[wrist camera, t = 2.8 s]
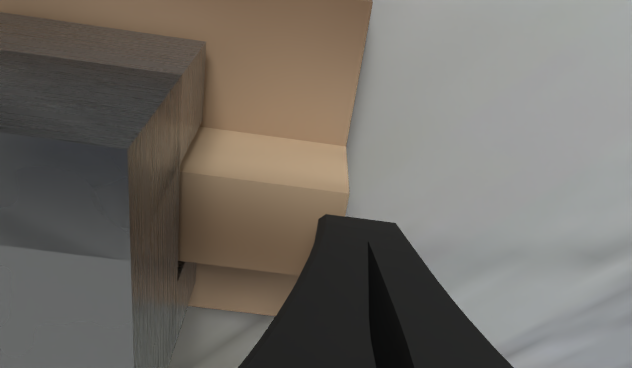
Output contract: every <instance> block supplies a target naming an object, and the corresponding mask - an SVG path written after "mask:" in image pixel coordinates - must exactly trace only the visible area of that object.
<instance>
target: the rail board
mask: <svg viewBox="0 0 632 368" xmlns="http://www.w3.org/2000/svg"><path fill="white" fill-rule="evenodd" d="M372 3H373V2H372V0H0V12H3V13H10V14H17V15H24V16H31V17H38V18H45V19H52V20H59V21H66V22H73V23H80V24H87V25H94V26H101V27H108V28H115V29H122V30H129V31H136V32H143V33H149V34H156V35H163V36H170V37H177V38H184V39H191V40H198V41H205V42H206V58H205V82H204V105H203V120H202V122H201V124H200V126H199V128H198V130H197V132H196V134H195V136H194V138H193V140H192V142H191V144H190V146H189V148H188V150H187V152H186V154H185V156H184V158H183V160H182V162H181V164H180V182H179V228H178V261H185V262H193V263H197V268H196V282H195V285H194V288H193V291H192V295H191V298H190V301H189V304H188V306H194V307H202V308H211V309H219V310H228V311H236V312H245V313H253V314H262V315H270V316H276V315H277V313H278V312H279V310H280V309H281V307H282V305H283V304H284V302H285V300H286V299H287V297H288V296H289V294H290V292H291V291H292V289H293V287H294V285H295V284H296V282H297V280H298V278H299V276H300V274H301V272H302V270H303V268H304V266H305V264H306V262H307V260H308V257H309V255H310V252H311V250H312V247H313V245H314V242H315V236H316V230H317V224H318V219H319V218H321V217H322V216H324V215H325V214H329V215H337V216H344V217H345V214H346V209H347V203H348V198H349V181H348V167H347V153H346V144H347V138H348V133H349V128H350V122H351V117H352V111H353V106H354V101H355V95H356V90H357V84H358V79H359V74H360V68H361V63H362V57H363V52H364V47H365V41H366V36H367V30H368V25H369V20H370V14H371V9H372Z"/></svg>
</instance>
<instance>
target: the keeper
mask: <svg viewBox="0 0 632 368" xmlns="http://www.w3.org/2000/svg"><path fill="white" fill-rule="evenodd" d="M205 58H206V42H205V41H198V40H191V39H184V38H177V37H170V36H163V35H156V34H149V33H143V32H136V31H129V30H122V29H115V28H108V27H101V26H94V25H87V24H80V23H73V22H66V21H59V20H52V19H45V18H38V17H31V16H24V15H17V14H10V13H3V12H0V368H168V366H169V363H170V359H171V356H172V353H173V350H174V347H175V344H176V341H177V338H178V335H179V332H180V329H181V325H182V322H183V319H184V316H185V313H186V310H187V307H188V304H189V301H190V298H191V295H192V291H193V288H194V285H195V282H196V268H197V263H193V262H185V261H178V228H179V182H180V164H181V162H182V160H183V158H184V156H185V154H186V152H187V150H188V148H189V146H190V144H191V142H192V140H193V138H194V136H195V134H196V132H197V130H198V128H199V126H200V124H201V122H202V120H203V105H204V82H205Z"/></svg>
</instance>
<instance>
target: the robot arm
mask: <svg viewBox="0 0 632 368" xmlns="http://www.w3.org/2000/svg"><path fill="white" fill-rule="evenodd" d="M238 368H513V367H512V366H511V364H510V363H509V362H508V361H507V360H506V359H505V358H504V357H503V356H502V355H501V354H500V353H499V352H498V351H497V350H496V349H495V348H494V347H493V346H492V345H491V343H490V342H489V341H488V340H487V339H486V338H485V337H484V336H483V335H482V333H481V332H480V331H479V330H478V329H477V328H476V327H475V326H474V324H473V323H472V322H471V321H470V320H469V319H468V318H467V316H466V315H465V314H464V313H463V312H462V311H461V309H460V308H459V307H458V306H457V305H456V303H455V302H454V301H453V300H452V298H451V297H450V296H449V295H448V293H447V292H446V291H445V290H444V288H443V287H442V286H441V285H440V283H439V282H438V281H437V279H436V278H435V277H434V275H433V274H432V273H431V271H430V270H429V269H428V267H427V266H426V265H425V263H424V262H423V260H422V259H421V258H420V256H419V255H418V254H417V252H416V251H415V249H414V248H413V247H412V245H411V244H410V242H409V241H408V240H407V238H406V237H405V236H404V234H403V233H402V231H401V230H400V229H399V227H398V226H397V225H396V223H391V222H383V221H375V220H367V219H360V218H352V217H344V216H337V215H329V214H325V215H324V216H322V217H321V218H319V219H318V224H317V230H316V236H315V242H314V245H313V247H312V250H311V252H310V255H309V257H308V260H307V262H306V264H305V266H304V268H303V270H302V272H301V274H300V276H299V278H298V280H297V282H296V284H295V285H294V287H293V289H292V291H291V292H290V294H289V296H288V297H287V299H286V300H285V302H284V304H283V305H282V307H281V309H280V310H279V312H278V313H277V315H276V317H275V318H274V320H273V321H272V323H271V324H270V326H269V327H268V329H267V330H266V332H265V333H264V334H263V336H262V337H261V339H260V340H259V341H258V343H257V344H256V345H255V347H254V348H253V349H252V351H251V352H250V353H249V354H248V356H247V357H246V358H245V360H244V361H243V362H242V364H241V365H240V366H239V367H238Z"/></svg>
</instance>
